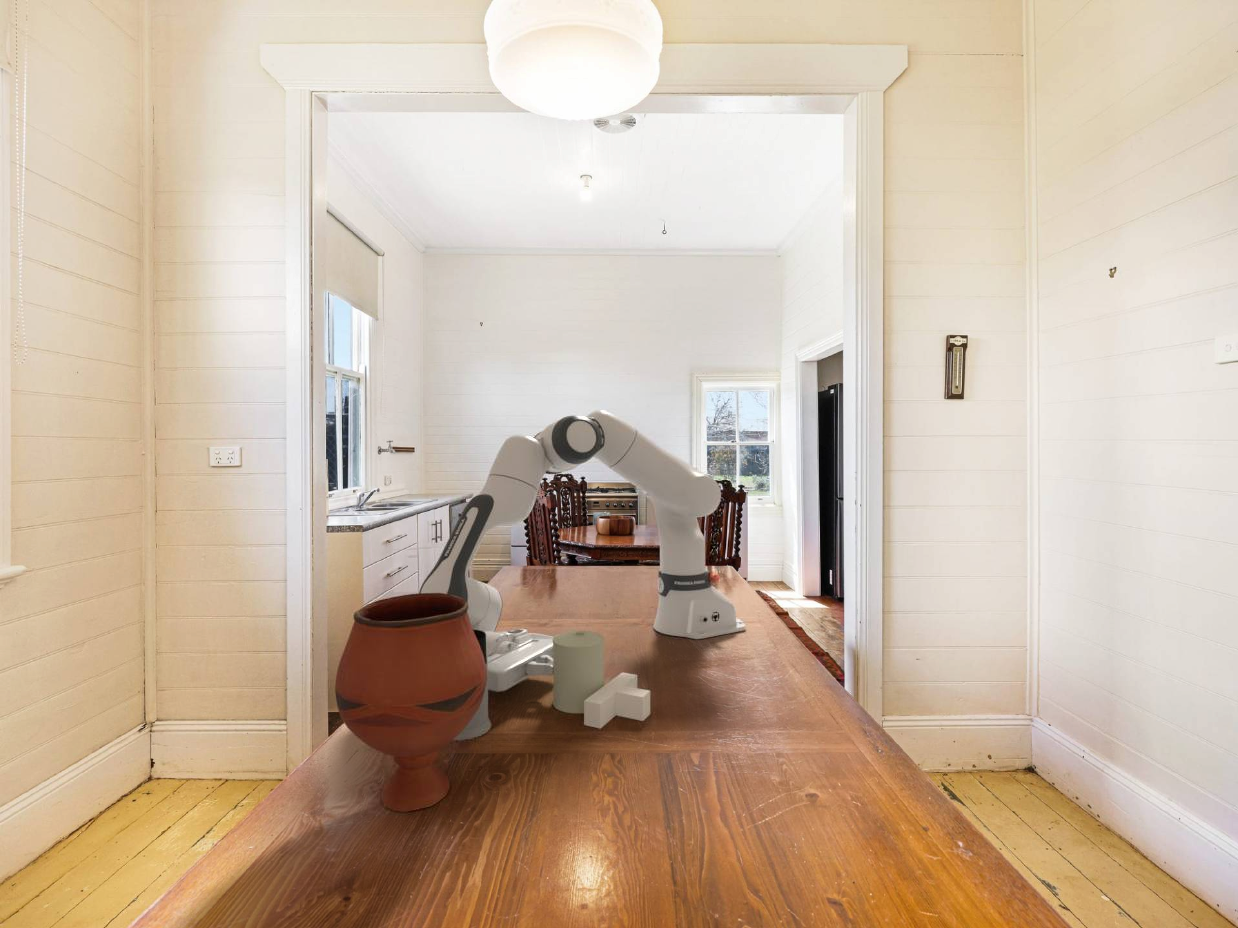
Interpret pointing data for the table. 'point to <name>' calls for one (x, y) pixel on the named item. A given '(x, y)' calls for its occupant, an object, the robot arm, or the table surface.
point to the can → (577, 669)
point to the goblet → (411, 687)
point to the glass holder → (480, 719)
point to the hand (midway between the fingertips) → (557, 668)
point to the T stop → (617, 702)
